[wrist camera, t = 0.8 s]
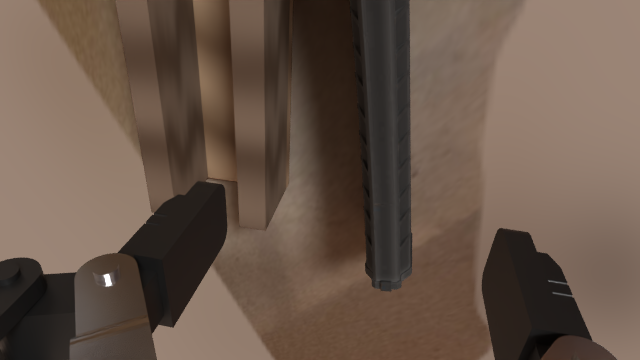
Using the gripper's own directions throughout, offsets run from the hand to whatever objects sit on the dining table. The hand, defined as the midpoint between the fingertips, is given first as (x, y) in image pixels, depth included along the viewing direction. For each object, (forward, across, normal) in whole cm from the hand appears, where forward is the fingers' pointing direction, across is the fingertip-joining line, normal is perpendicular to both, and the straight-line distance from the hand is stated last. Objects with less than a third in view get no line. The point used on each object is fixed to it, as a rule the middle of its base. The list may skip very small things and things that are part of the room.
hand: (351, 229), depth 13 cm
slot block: (+21, +12, 0) cm, 24 cm away
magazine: (+22, 0, 0) cm, 22 cm away
